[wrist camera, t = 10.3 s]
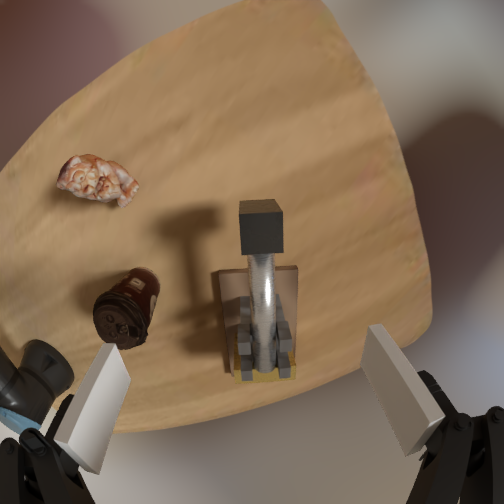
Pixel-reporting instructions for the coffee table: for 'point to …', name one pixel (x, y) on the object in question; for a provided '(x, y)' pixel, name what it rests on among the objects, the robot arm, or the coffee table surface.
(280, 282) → the bearing block
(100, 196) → the figurine
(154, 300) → the coffee cup
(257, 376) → the block
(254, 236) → the shaft
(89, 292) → the coffee table surface
